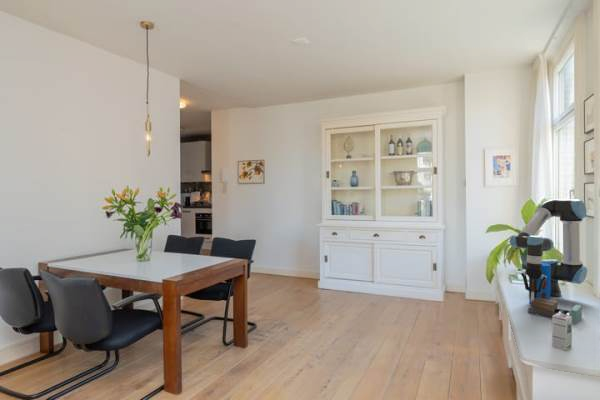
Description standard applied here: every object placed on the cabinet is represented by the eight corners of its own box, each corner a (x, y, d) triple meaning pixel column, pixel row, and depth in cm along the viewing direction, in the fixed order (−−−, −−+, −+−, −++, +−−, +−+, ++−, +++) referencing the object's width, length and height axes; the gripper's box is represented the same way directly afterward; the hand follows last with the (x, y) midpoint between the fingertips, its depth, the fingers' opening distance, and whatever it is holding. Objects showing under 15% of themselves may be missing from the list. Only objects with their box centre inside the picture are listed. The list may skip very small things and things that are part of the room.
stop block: (575, 317, 203) (575, 304, 203) (581, 318, 202) (581, 305, 201) (570, 322, 195) (570, 309, 194) (576, 324, 193) (576, 310, 192)
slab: (537, 303, 216) (537, 297, 216) (557, 308, 209) (557, 301, 209) (531, 308, 208) (531, 301, 208) (551, 312, 201) (552, 305, 201)
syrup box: (566, 351, 160) (567, 318, 160) (551, 346, 165) (552, 314, 164) (571, 348, 164) (572, 315, 163) (556, 343, 168) (557, 312, 168)
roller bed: (533, 308, 217) (533, 303, 217) (575, 317, 203) (575, 311, 203) (528, 312, 210) (528, 307, 210) (570, 322, 195) (570, 316, 195)
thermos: (553, 307, 219) (554, 266, 218) (533, 306, 221) (534, 265, 220) (544, 302, 229) (546, 262, 229) (526, 301, 232) (527, 262, 231)
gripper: (519, 261, 214) (518, 301, 215) (545, 265, 205) (544, 307, 205) (523, 260, 219) (522, 299, 220) (549, 263, 210) (547, 304, 210)
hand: (532, 302), depth 213 cm, fingers closed
